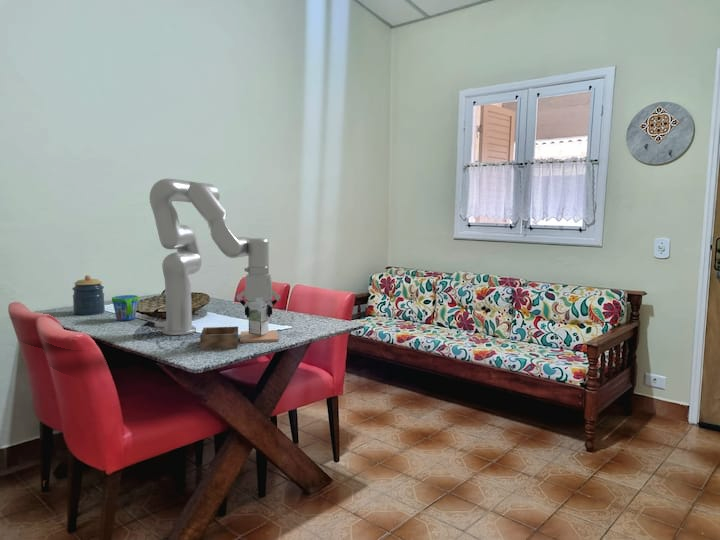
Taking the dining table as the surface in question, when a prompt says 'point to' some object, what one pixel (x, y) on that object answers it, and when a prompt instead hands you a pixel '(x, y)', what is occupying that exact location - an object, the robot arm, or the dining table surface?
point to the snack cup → (125, 307)
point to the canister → (88, 297)
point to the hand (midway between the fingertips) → (258, 316)
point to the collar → (219, 338)
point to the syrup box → (258, 317)
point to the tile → (259, 337)
